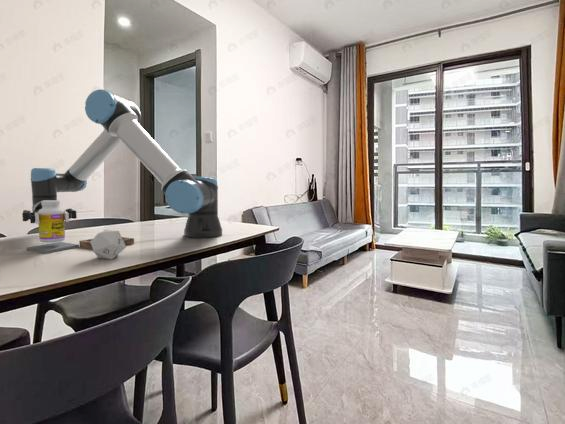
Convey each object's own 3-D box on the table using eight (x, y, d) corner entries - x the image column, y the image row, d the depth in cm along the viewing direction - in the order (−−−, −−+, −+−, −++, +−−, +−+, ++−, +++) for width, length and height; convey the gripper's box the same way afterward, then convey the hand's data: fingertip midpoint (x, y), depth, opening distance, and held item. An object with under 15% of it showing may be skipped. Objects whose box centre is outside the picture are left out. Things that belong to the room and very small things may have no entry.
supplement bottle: (51, 243, 95) (49, 201, 94) (34, 242, 96) (31, 201, 95) (70, 239, 102) (68, 200, 100) (53, 238, 103) (51, 199, 102)
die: (92, 265, 83) (115, 237, 83) (77, 246, 87) (99, 219, 87) (117, 268, 91) (137, 242, 91) (102, 251, 94) (122, 225, 94)
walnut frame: (134, 243, 108) (133, 238, 108) (103, 250, 97) (102, 244, 97) (111, 240, 112) (111, 235, 112) (79, 246, 102) (79, 240, 102)
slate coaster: (79, 247, 102) (79, 244, 102) (45, 253, 93) (45, 250, 93) (60, 244, 106) (60, 241, 106) (26, 249, 97) (26, 247, 97)
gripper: (79, 219, 119) (90, 227, 101) (12, 223, 106) (11, 233, 88) (78, 200, 118) (89, 204, 100) (10, 202, 105) (9, 207, 88)
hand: (52, 218), depth 94 cm, fingers closed on supplement bottle, 7 cm apart
